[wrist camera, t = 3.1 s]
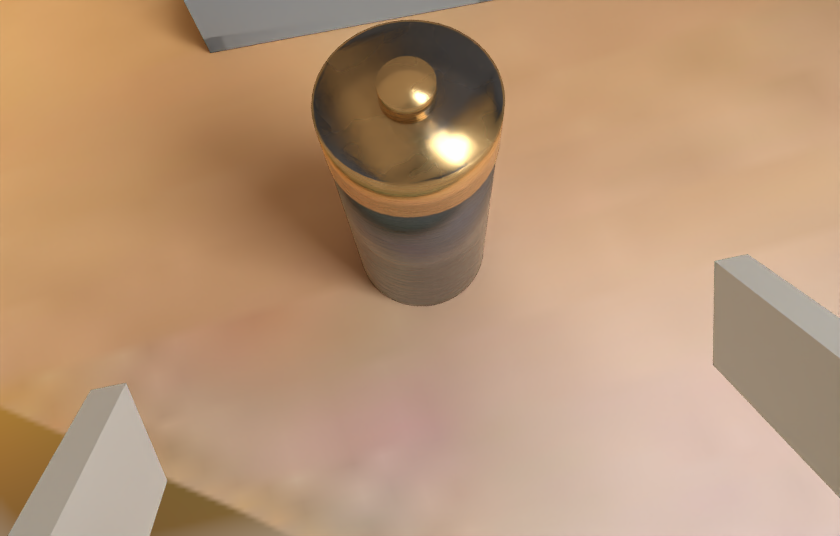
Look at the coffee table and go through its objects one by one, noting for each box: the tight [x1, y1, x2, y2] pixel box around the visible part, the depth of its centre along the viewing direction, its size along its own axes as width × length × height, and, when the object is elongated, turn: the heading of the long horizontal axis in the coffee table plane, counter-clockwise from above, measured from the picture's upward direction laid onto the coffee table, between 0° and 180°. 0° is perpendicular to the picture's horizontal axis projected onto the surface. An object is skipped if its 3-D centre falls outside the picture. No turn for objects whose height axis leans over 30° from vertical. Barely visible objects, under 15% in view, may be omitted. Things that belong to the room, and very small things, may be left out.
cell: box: [311, 20, 505, 306], centre depth 23 cm, size 5×5×12 cm
